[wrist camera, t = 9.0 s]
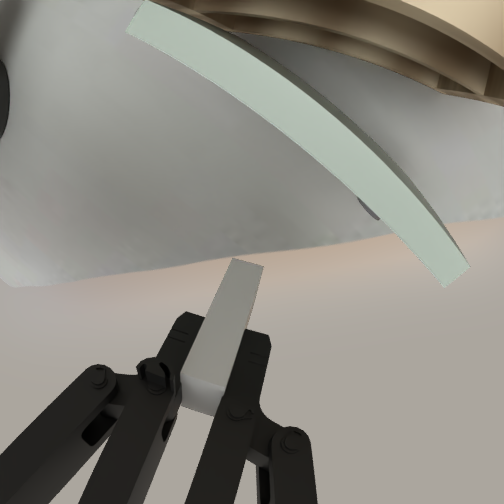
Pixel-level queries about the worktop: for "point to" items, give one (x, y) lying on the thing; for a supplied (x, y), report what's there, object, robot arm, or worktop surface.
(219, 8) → the cabinet
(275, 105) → the door
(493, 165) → the worktop surface
